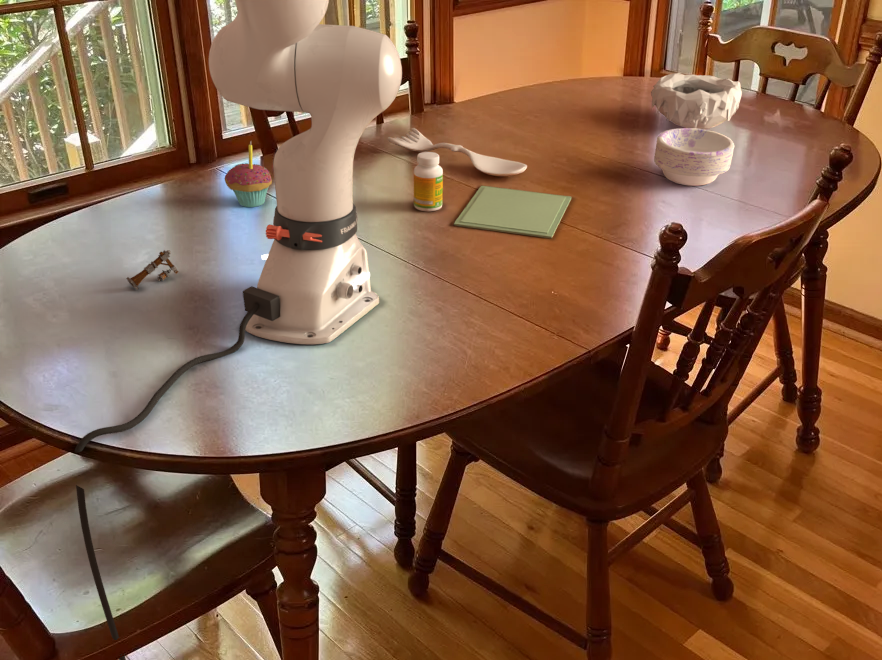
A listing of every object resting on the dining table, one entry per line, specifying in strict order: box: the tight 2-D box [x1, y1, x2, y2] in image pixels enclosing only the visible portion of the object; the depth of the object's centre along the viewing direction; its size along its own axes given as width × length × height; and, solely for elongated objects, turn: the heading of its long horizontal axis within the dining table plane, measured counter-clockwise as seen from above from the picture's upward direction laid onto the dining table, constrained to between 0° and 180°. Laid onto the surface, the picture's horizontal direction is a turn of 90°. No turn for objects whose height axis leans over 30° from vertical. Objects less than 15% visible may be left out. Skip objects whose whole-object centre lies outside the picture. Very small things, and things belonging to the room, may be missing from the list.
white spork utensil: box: [387, 127, 528, 177], centre depth 191 cm, size 9×32×4 cm, turn 53°
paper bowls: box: [653, 127, 735, 187], centre depth 185 cm, size 15×15×8 cm
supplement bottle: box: [413, 151, 444, 212], centre depth 170 cm, size 5×5×10 cm
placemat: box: [453, 185, 572, 239], centre depth 171 cm, size 20×18×1 cm
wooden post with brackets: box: [125, 249, 179, 291], centre depth 145 cm, size 2×8×4 cm, turn 131°
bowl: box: [650, 72, 743, 130], centre depth 213 cm, size 21×20×10 cm
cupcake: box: [224, 140, 273, 208], centre depth 169 cm, size 9×8×12 cm
